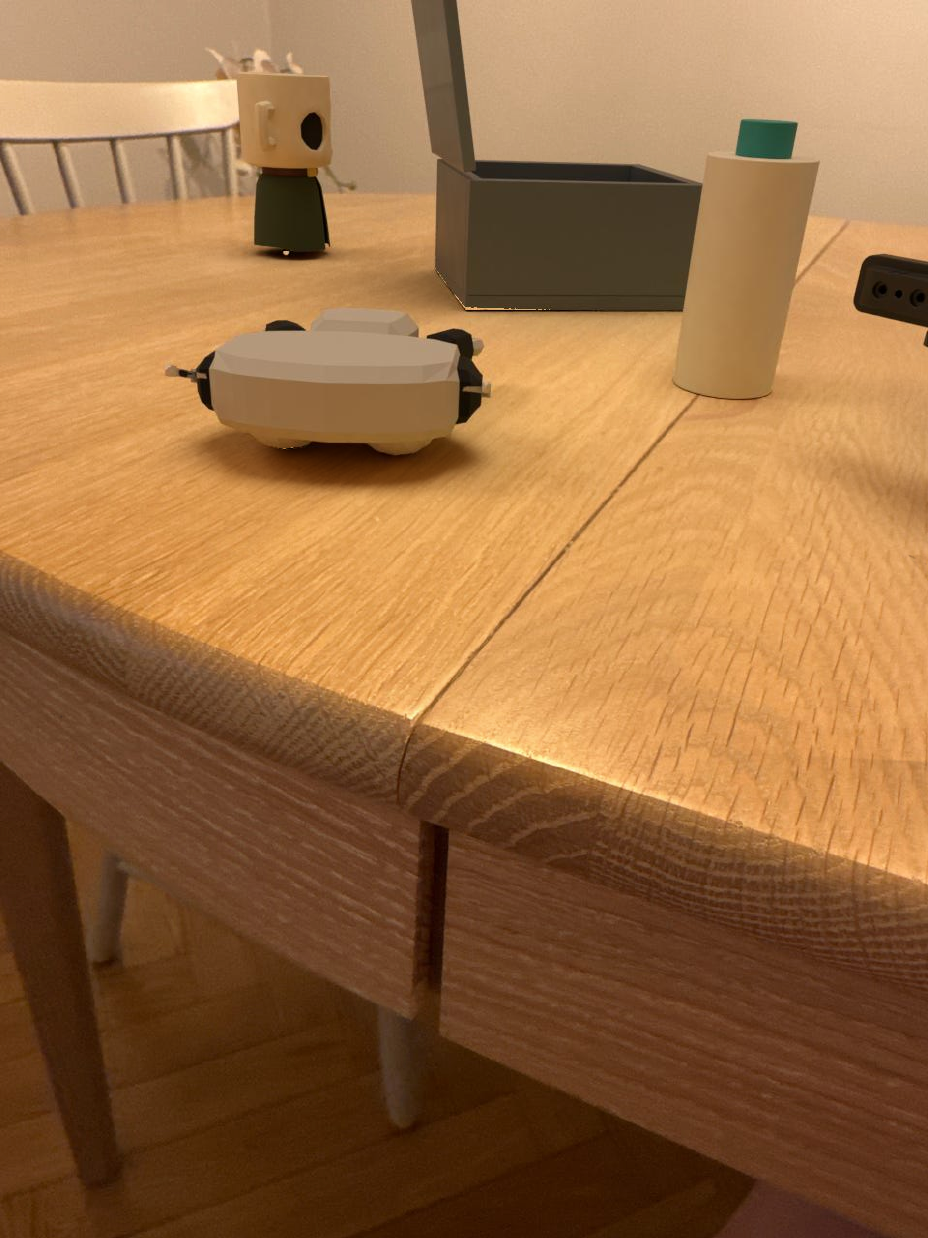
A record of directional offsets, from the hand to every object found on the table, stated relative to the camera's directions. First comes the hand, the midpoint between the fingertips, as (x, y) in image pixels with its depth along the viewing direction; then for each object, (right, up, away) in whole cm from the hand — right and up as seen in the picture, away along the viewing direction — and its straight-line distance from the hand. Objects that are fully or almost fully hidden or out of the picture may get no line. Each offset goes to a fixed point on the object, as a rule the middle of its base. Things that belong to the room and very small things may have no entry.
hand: (919, 272), depth 40 cm
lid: (-21, +24, +20) cm, 37 cm away
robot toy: (-25, -6, +3) cm, 25 cm away
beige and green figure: (-34, +16, +38) cm, 54 cm away
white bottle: (-6, -2, +10) cm, 12 cm away
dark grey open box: (-13, +10, +30) cm, 34 cm away
